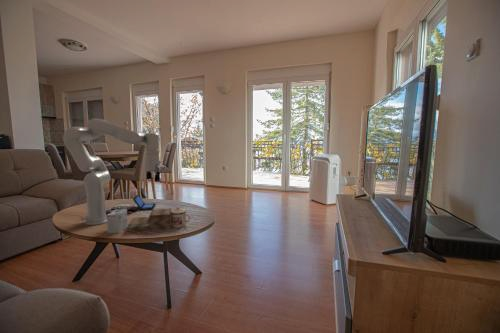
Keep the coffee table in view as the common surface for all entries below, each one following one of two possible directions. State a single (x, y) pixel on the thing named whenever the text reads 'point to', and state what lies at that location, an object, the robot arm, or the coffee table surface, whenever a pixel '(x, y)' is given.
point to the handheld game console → (143, 204)
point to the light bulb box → (117, 221)
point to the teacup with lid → (178, 217)
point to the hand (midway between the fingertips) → (153, 180)
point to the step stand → (152, 221)
